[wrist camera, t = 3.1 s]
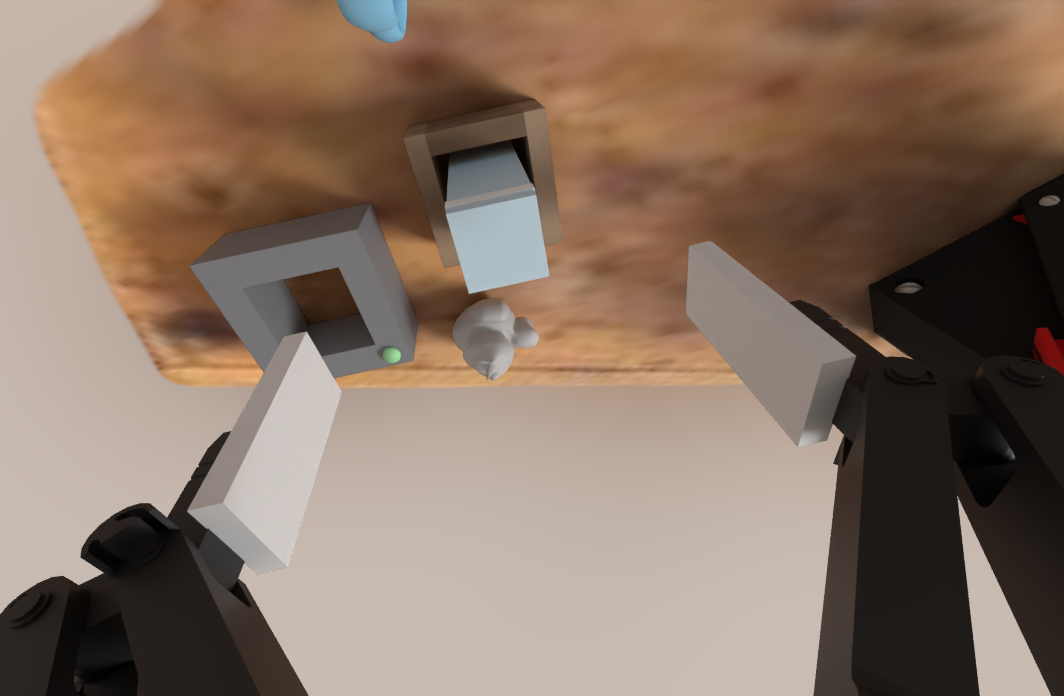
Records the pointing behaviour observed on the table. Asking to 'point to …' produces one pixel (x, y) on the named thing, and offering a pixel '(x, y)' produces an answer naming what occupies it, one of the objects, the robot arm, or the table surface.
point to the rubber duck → (492, 336)
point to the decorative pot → (377, 17)
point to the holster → (474, 132)
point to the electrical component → (983, 292)
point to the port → (302, 248)
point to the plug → (494, 218)
